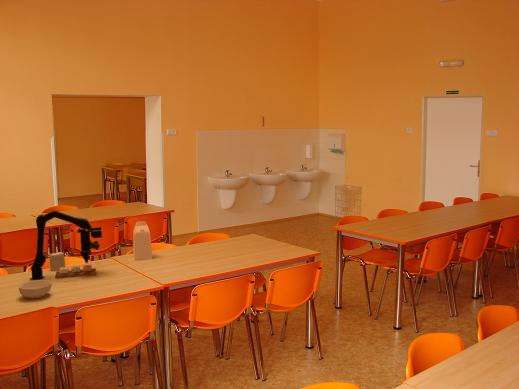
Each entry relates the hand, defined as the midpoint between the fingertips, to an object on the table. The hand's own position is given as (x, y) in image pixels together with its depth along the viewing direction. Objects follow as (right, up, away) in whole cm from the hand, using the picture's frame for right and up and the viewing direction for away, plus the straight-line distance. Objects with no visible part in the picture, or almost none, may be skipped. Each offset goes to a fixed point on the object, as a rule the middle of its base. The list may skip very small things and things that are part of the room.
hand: (86, 263), depth 349 cm
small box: (-24, -6, +14) cm, 28 cm away
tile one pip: (-13, -5, -3) cm, 15 cm away
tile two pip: (-7, -5, -1) cm, 8 cm away
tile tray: (-7, -7, -1) cm, 10 cm away
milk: (+27, -2, +39) cm, 48 cm away
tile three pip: (0, -5, +1) cm, 5 cm away
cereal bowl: (-15, -14, -43) cm, 47 cm away
